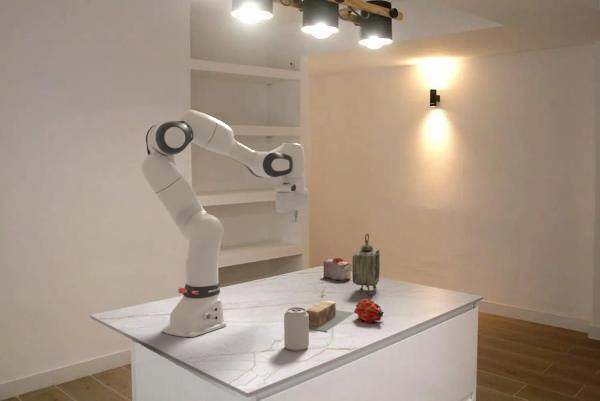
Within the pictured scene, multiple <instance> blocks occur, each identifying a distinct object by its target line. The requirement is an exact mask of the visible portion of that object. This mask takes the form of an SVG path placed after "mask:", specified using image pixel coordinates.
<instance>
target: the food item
mask: <svg viewBox="0 0 600 401" xmlns="http://www.w3.org/2000/svg"><path fill="white" fill-rule="evenodd" d="M351 274H352V262H346V261H344V259H342V257H336V258H333V259H332V258H330V259H329V258H328V259H326V260H324V261H323V278H328V279H331V280H332V279H333V280H338V281H342V282H343V281H349V280H351V279H352V278H351Z"/></svg>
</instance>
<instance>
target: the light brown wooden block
mask: <svg viewBox="0 0 600 401" xmlns="http://www.w3.org/2000/svg"><path fill="white" fill-rule="evenodd" d="M306 310H307V311H306V312H307V313H308V314H309V325H312V326H320V325H322V324H324V323H325V322H327V321H328V320H330V319H331V318H333V317H335V316H336V310H337V303H336V301H328V300H322V301H320V302H319V303H317V304H315V305H313V306H311V307H310V308H306Z"/></svg>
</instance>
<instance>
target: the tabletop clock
mask: <svg viewBox="0 0 600 401" xmlns="http://www.w3.org/2000/svg"><path fill="white" fill-rule="evenodd" d="M369 240H370V235H369V233H366V234H365V236H364V244H362V246H361V247H360V249H358V250H356V251H355V252H354V253H353V254H352V262H351V263H352V267H351V274H352V278H351V279H352V283H353V284H355V285H357V286H361V287H360V288H359V291H360V293H361V292H363V291H364V286H365V287H366V288H367V291H368V293H367V294H368V296H371V295H373V293H372V291H371V290H370V287H372V289H373V290H376V289H377V285H378V283H379V281H380V268H381V267H380V264H381V262H380V258H381V257H380V250H379V249H374V248H373V246H372V245H371V244H369Z"/></svg>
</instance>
